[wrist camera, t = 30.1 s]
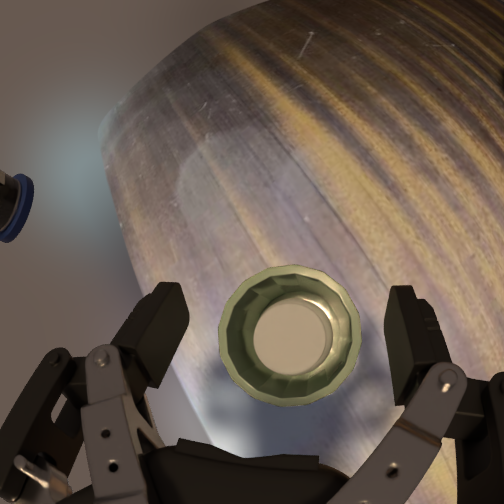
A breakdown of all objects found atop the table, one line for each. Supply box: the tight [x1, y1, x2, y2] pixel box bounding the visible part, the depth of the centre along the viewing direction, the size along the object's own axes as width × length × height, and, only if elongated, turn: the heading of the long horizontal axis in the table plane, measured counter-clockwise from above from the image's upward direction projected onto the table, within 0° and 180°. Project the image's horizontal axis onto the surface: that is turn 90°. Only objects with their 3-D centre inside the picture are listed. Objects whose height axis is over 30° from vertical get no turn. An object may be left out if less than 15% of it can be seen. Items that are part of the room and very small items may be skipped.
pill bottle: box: [253, 298, 333, 376], centre depth 17 cm, size 4×4×8 cm
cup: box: [218, 264, 362, 407], centre depth 17 cm, size 7×7×8 cm
